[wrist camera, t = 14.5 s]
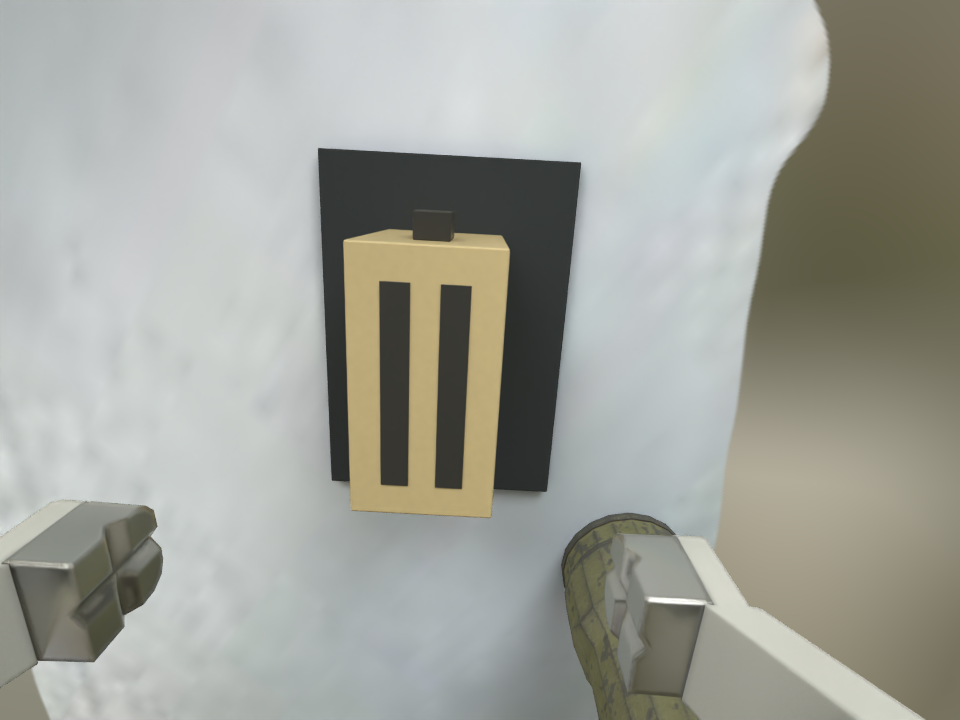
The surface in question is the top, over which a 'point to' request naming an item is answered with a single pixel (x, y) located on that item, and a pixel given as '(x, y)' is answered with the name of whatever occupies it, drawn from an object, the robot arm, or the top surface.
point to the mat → (478, 210)
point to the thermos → (595, 645)
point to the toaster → (424, 366)
